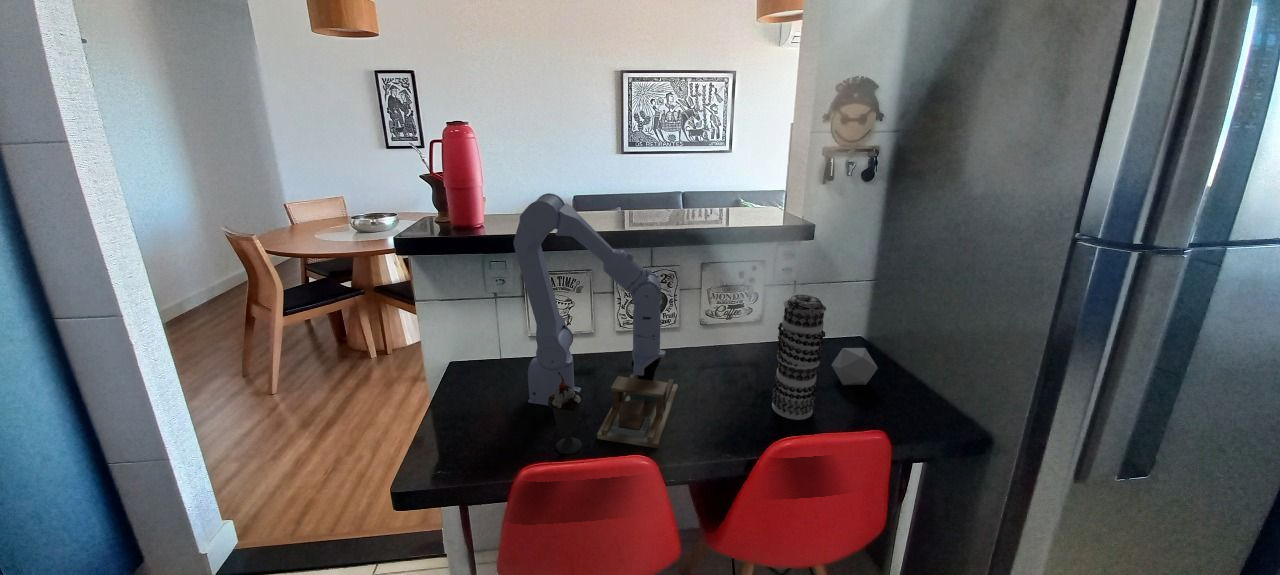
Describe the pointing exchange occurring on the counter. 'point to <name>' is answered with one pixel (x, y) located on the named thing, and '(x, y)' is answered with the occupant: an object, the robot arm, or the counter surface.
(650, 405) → the tunnel board
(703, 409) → the counter surface
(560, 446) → the sundae
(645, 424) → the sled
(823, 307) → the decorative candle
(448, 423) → the counter surface
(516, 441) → the counter surface
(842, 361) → the die
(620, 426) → the walnut block
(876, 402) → the counter surface
